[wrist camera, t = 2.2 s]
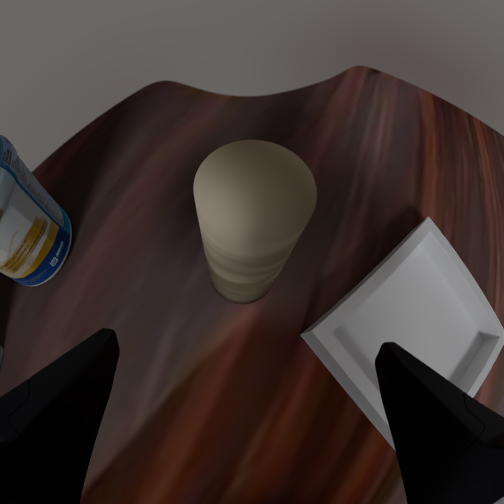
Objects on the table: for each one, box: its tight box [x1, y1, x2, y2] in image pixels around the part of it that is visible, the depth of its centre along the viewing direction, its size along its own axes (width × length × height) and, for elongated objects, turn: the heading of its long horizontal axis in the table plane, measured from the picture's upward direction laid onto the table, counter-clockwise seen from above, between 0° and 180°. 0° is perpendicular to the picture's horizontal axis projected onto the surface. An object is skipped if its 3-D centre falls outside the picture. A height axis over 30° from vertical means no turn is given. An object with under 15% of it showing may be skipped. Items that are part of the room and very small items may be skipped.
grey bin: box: [300, 217, 504, 451], centre depth 20 cm, size 15×15×3 cm
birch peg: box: [193, 140, 317, 304], centre depth 17 cm, size 5×5×12 cm
